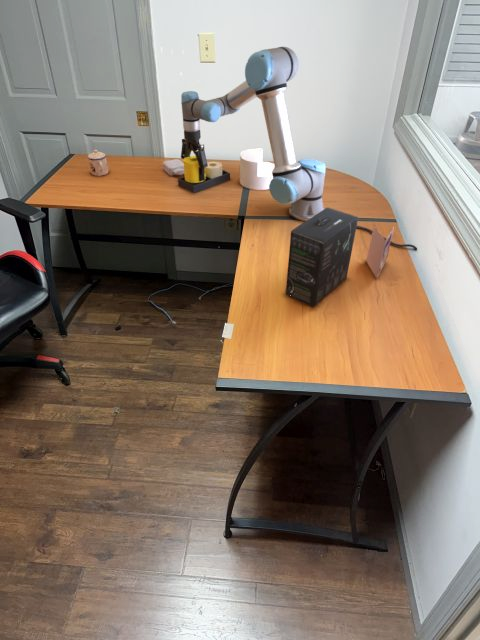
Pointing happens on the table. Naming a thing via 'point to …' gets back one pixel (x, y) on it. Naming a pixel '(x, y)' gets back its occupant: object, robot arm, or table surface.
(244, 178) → the white notched cylinder
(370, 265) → the greeting card
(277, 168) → the robot arm
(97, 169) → the teacup with lid
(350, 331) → the table surface
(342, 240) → the headset box
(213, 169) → the paper roll
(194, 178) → the tape roll
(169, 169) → the charger
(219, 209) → the table surface
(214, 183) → the rack
